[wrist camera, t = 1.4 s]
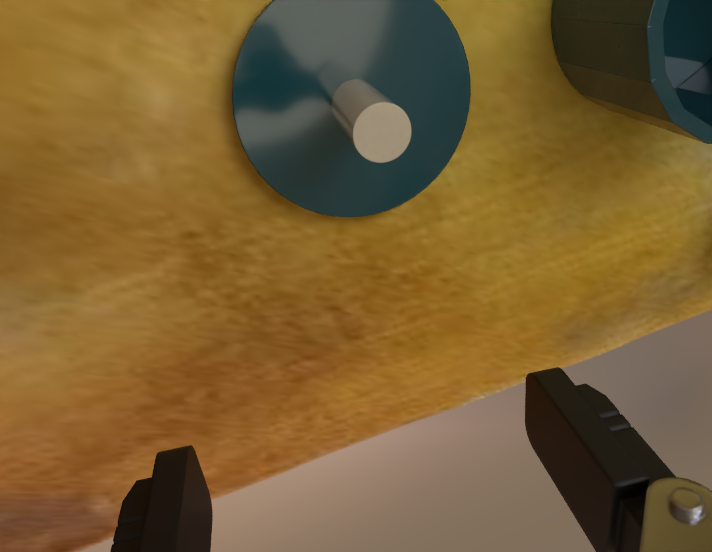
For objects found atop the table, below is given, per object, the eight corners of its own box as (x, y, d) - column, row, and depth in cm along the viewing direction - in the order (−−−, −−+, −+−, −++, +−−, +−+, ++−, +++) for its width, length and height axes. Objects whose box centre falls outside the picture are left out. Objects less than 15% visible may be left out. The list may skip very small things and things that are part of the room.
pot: (659, 141, 39) (772, 183, 31) (511, 53, 35) (594, 75, 26) (790, -51, 35) (962, -62, 26) (639, -178, 31) (788, -240, 22)
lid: (397, 241, 39) (434, 304, 31) (196, 158, 34) (182, 208, 27) (506, 42, 34) (582, 59, 27) (292, -86, 30) (308, -111, 22)
